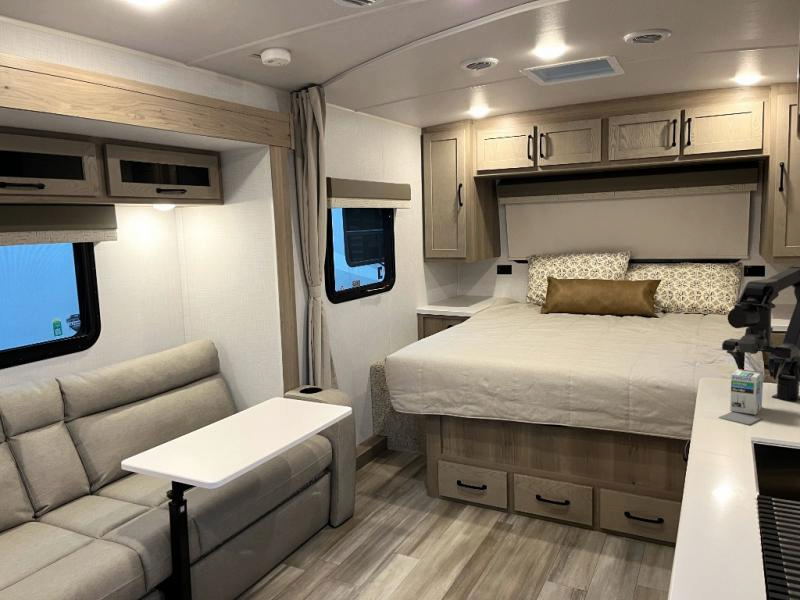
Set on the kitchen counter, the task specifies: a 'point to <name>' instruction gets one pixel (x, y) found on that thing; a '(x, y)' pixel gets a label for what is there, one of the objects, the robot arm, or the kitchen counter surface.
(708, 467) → the kitchen counter surface
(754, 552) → the kitchen counter surface
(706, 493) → the kitchen counter surface
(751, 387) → the light bulb box
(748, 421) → the mat
